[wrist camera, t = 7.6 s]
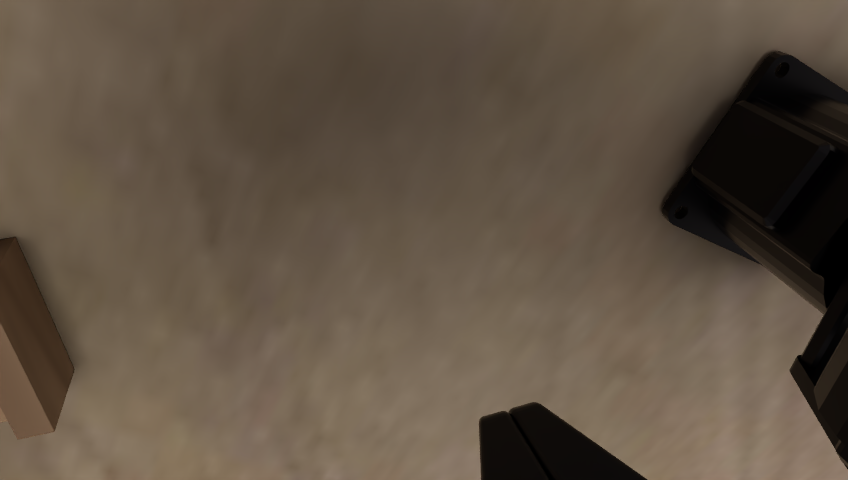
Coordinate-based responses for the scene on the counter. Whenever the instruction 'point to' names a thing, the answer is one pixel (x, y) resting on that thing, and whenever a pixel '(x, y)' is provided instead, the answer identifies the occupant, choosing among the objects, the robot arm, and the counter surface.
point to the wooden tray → (28, 351)
